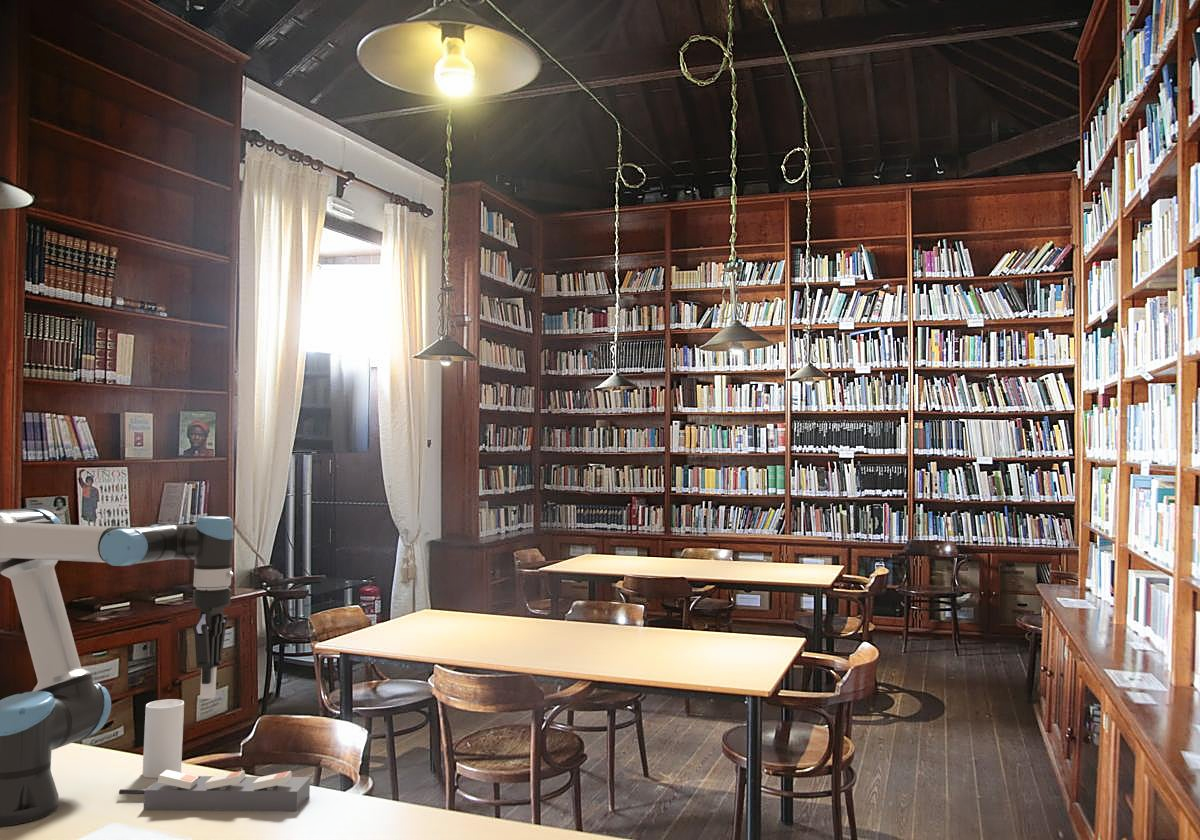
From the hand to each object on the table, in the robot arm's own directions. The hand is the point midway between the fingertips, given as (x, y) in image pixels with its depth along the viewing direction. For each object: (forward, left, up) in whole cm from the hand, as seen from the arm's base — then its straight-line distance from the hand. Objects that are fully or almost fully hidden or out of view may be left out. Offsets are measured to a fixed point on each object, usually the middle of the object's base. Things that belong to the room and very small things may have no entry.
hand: (207, 697), depth 193 cm
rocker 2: (+5, -1, -17) cm, 18 cm away
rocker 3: (+15, -1, -17) cm, 23 cm away
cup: (-18, +20, -23) cm, 35 cm away
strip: (+1, +1, -22) cm, 22 cm away
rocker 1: (-5, -1, -17) cm, 18 cm away
